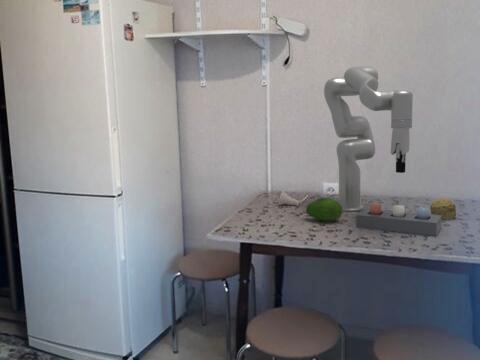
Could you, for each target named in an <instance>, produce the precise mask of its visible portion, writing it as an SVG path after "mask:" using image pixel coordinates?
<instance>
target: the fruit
mask: <svg viewBox="0 0 480 360" xmlns="http://www.w3.org/2000/svg"><path fill="white" fill-rule="evenodd" d="M332 198H333V197H321V198H318V199H315V200H314V201H311V202H310V203H308V204H307V205H306V209H305V213H306V214H307V215H308V216H309V217H311V218H314V219H317V220H318V221H322V222H335V221H337V220H338V219H340V218H341V216H342V214H343V212H344V211H343V210H342V207H341V205H340V204H339V203H338V202H337V201H336V200H334V199H332Z"/></svg>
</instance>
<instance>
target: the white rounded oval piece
mask: <svg viewBox="0 0 480 360" xmlns="http://www.w3.org/2000/svg"><path fill="white" fill-rule="evenodd" d="M405 209H406V208H405V205H399V204H395V205H393V206H392V211H393V216H394V217H404V213H405V212H406V210H405Z"/></svg>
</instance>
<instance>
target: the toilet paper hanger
mask: <svg viewBox="0 0 480 360" xmlns="http://www.w3.org/2000/svg"><path fill="white" fill-rule="evenodd" d="M309 196H310V195H309V194H306V196H305V197H304V198H301V200H300V199H299V200H298V199H297V198H293V197H291V196H289V195H288V194H287V193H286V191H285V190H282V191H281V194H280V195H279V199H278V206H279V205H280V206H283V205H287V204H288V205H292V206H296V207H299V206H302V205H303V203H304V201H306V200H307V199H308V198H309ZM307 197H308V198H307ZM306 198H307V199H306ZM305 199H306V200H305ZM299 204H300V205H299Z"/></svg>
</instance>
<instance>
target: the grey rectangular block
mask: <svg viewBox="0 0 480 360" xmlns="http://www.w3.org/2000/svg"><path fill="white" fill-rule="evenodd" d="M416 218H417V212H411V211H405V213H404V217H394V216H393V210H388V209H387V210H386V209H381V215H374V214H370V208H365V207H364V209H363V210H360V211H358V213H356V214H355V227H356V228H360V229H369V230H376V231H378V230H379V231H386V232H394V233H396V232H397V233H403V234H404V233H406V234H413V235H421V236H431V237H437V236H438V235H439V233H440V231H441V230H442V226H443V225H442V224H443V220H442V215H433V214H431V213H429V220H425V219H416Z"/></svg>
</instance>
